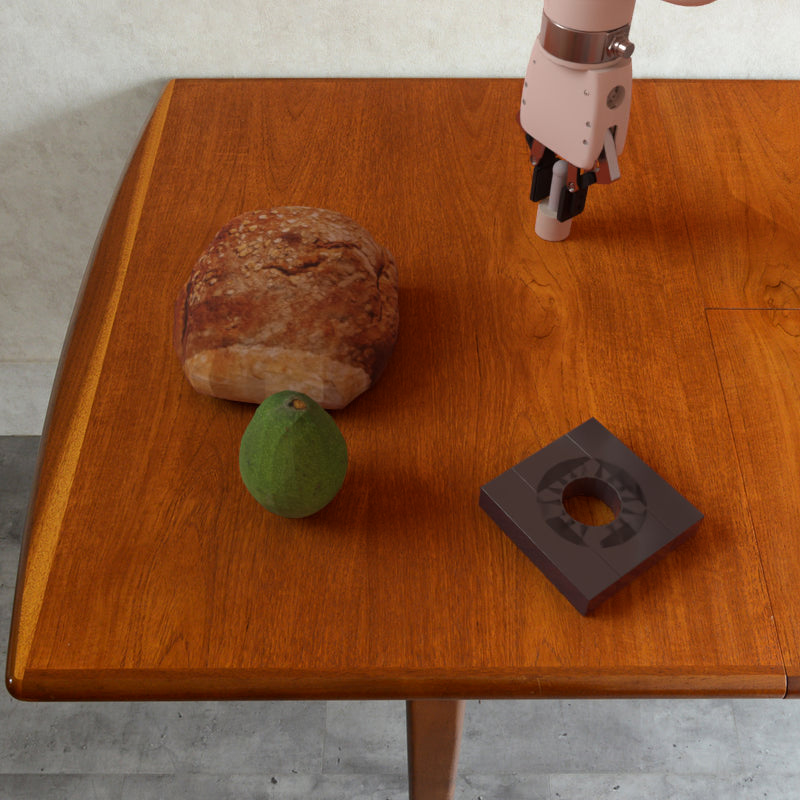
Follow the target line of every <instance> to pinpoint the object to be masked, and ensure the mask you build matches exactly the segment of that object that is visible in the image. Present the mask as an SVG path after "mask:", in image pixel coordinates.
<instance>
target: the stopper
mask: <svg viewBox="0 0 800 800" xmlns="http://www.w3.org/2000/svg"><path fill="white" fill-rule="evenodd" d="M567 173H568V161H567V160H565V159H561V160H560V161H557V162H556V163H555V164H554V166H553V178H552V184H551V191H550V196H549V197H547V198H545V199H543V200H540V201H539V202H538V206H537V212H536V220H535V225H534V231H535V233H536V235H537V236H538V237H539V238H540V239H542V240H545V241H548V242H561V241H563V240H565V239H567V238H568V237H569V235H570V232H571V227H572V221H573V218H571V219H569V220H567V221H565V222H563V223H561V222H559V221H558V220H557V211H558V205H559V199H560V193H561V189H562V187H564V186H566V185H567Z"/></svg>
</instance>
